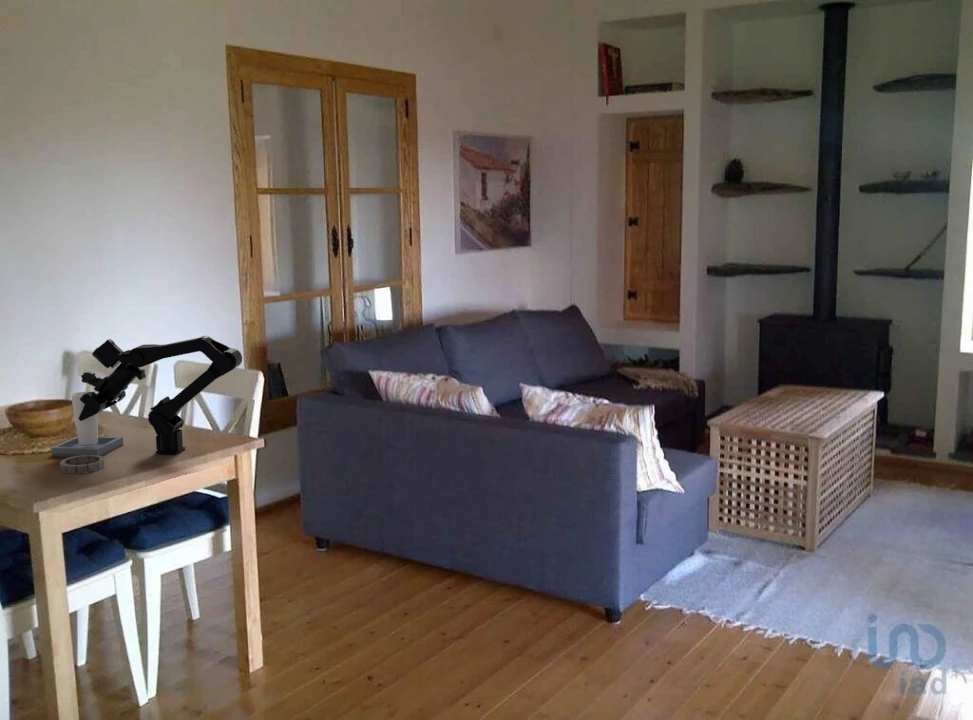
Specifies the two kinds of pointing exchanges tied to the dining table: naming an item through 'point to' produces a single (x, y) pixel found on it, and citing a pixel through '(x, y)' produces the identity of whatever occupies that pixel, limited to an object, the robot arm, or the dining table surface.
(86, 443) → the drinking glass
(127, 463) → the dining table surface
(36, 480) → the dining table surface
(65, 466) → the holder ring
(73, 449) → the tray
